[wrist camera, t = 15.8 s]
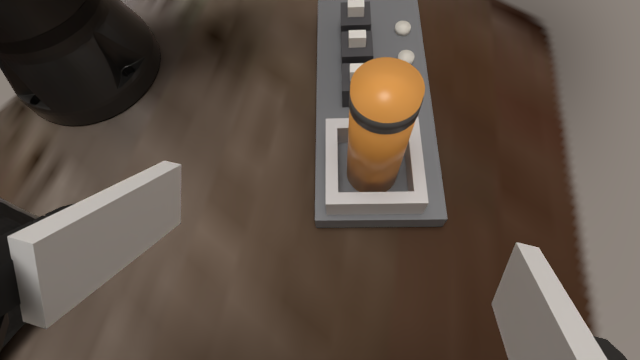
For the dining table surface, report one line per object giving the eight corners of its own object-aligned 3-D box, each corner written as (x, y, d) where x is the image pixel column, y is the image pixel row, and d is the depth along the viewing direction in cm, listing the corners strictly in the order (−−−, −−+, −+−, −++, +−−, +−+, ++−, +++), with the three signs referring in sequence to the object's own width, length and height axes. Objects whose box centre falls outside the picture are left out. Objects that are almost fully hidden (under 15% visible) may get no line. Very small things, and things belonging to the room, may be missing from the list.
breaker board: (441, 226, 33) (460, 203, 28) (316, 227, 34) (311, 205, 29) (413, 11, 44) (423, -35, 39) (318, 14, 44) (315, -30, 39)
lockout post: (338, 159, 34) (338, 69, 23) (384, 143, 35) (405, 47, 24) (357, 202, 32) (367, 128, 21) (405, 185, 33) (439, 103, 22)
